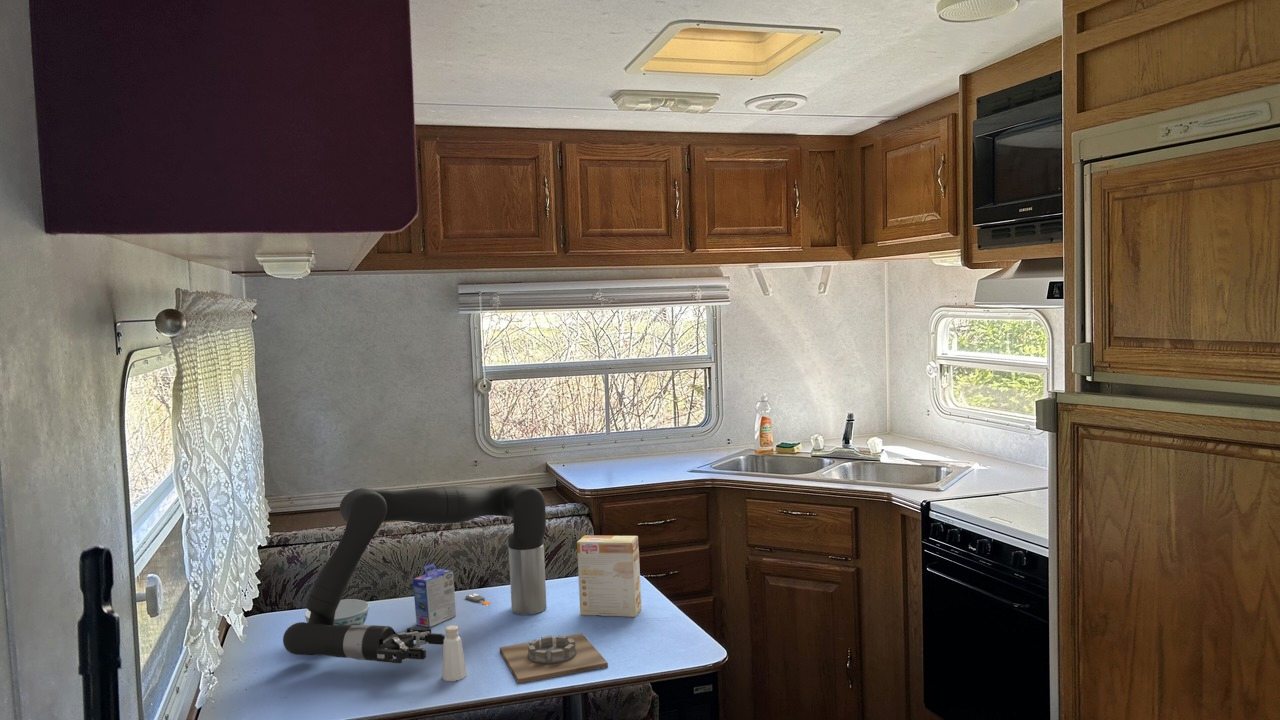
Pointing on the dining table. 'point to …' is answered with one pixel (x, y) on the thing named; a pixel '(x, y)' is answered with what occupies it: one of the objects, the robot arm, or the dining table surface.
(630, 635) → the dining table surface
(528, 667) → the collar board
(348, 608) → the chinaware
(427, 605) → the ink cartridge box
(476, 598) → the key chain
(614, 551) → the coffeecake box
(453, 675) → the pepper shaker
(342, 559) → the robot arm
